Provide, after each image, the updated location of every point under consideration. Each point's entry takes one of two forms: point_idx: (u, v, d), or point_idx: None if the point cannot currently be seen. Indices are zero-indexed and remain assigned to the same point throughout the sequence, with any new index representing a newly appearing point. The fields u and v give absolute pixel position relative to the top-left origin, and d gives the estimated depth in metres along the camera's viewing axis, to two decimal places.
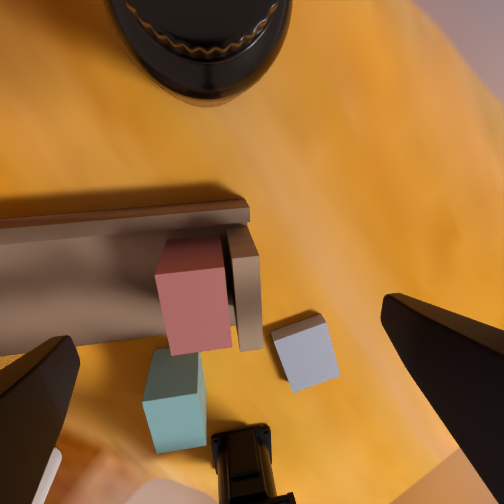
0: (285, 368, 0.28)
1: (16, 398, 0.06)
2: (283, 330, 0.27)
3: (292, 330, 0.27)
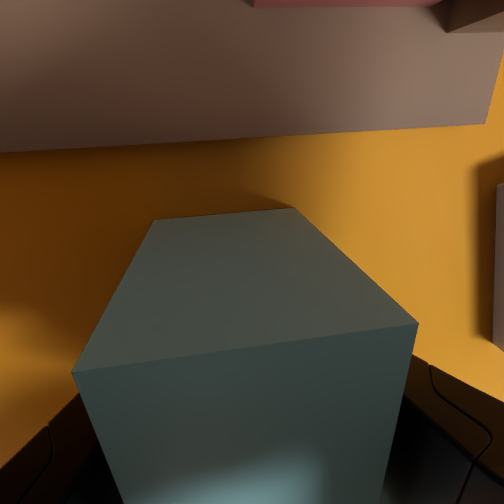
0: None
1: None
2: None
3: None
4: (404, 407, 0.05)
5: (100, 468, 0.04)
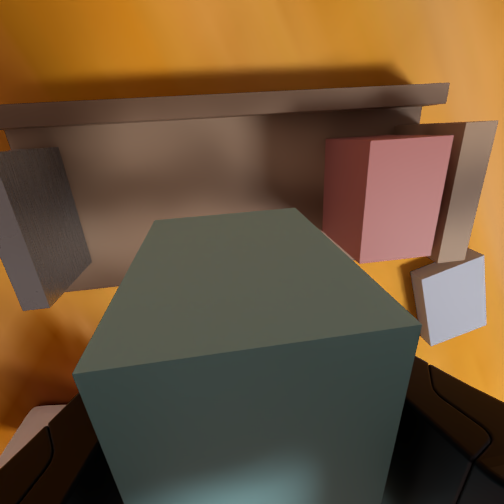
0: (428, 314, 0.23)
1: None
2: (427, 268, 0.23)
3: (440, 267, 0.22)
4: (404, 407, 0.05)
5: (100, 468, 0.04)
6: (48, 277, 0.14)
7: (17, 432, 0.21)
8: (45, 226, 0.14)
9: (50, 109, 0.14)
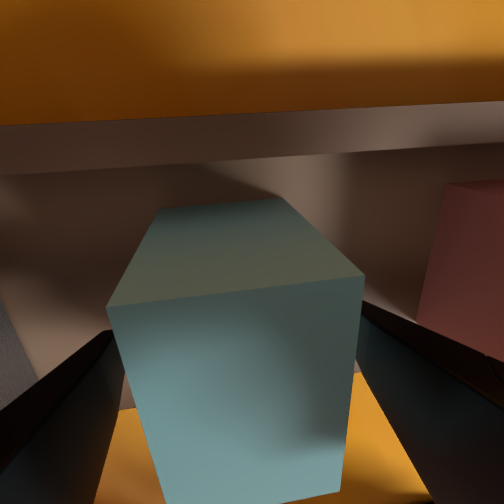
0: None
1: (84, 388, 0.06)
2: None
3: None
4: (471, 395, 0.05)
5: (13, 483, 0.04)
6: None
7: None
8: None
9: None
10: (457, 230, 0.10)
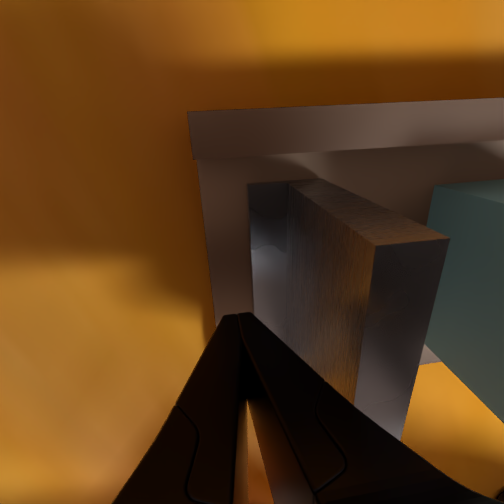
0: None
1: (242, 365, 0.06)
2: None
3: None
4: (280, 429, 0.04)
5: (239, 443, 0.04)
6: None
7: None
8: None
9: (340, 119, 0.07)
10: None
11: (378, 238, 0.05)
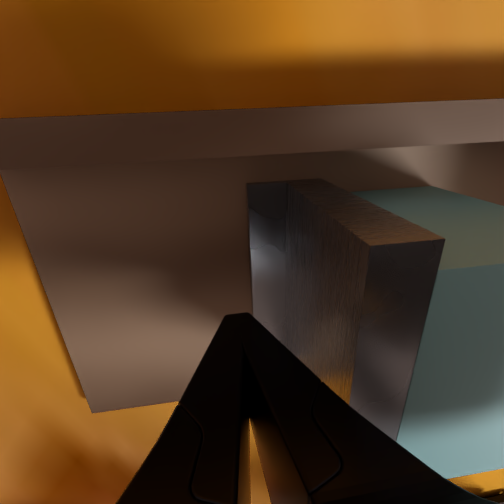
0: None
1: (244, 364, 0.06)
2: None
3: None
4: (276, 430, 0.04)
5: (242, 443, 0.04)
6: None
7: None
8: None
9: (98, 130, 0.06)
10: None
11: (373, 239, 0.05)
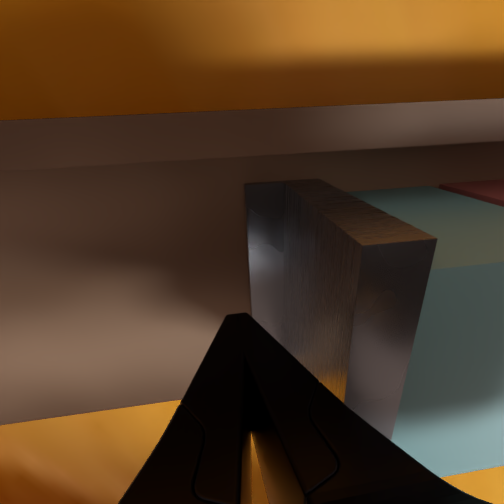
0: None
1: (246, 364, 0.06)
2: None
3: None
4: (273, 430, 0.04)
5: (244, 442, 0.04)
6: None
7: None
8: None
9: None
10: None
11: (366, 238, 0.05)
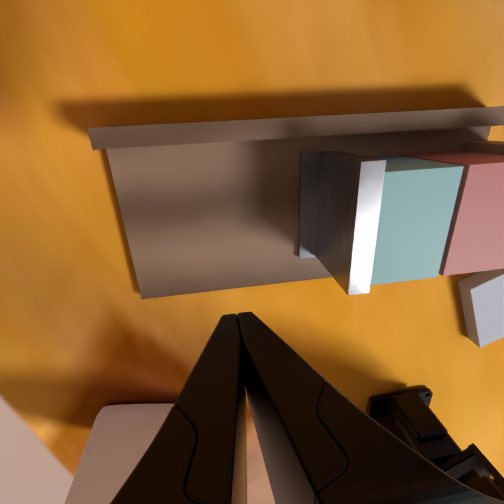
0: (477, 320, 0.25)
1: (241, 365, 0.06)
2: (474, 277, 0.24)
3: (487, 276, 0.24)
4: (281, 428, 0.04)
5: (237, 443, 0.04)
6: None
7: (94, 431, 0.22)
8: None
9: (162, 130, 0.15)
10: None
11: (362, 161, 0.13)
